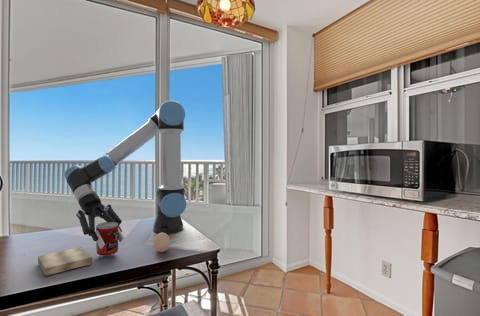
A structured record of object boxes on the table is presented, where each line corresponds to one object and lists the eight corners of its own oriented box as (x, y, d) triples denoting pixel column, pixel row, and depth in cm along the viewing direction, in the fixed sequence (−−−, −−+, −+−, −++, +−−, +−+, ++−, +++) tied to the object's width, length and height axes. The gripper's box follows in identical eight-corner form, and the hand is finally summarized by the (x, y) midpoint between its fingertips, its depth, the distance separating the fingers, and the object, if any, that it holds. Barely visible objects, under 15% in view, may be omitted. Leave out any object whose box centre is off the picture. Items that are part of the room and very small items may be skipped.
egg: (172, 248, 117) (172, 230, 117) (167, 254, 110) (167, 235, 110) (156, 248, 117) (156, 230, 117) (151, 254, 111) (151, 235, 110)
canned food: (110, 256, 104) (109, 227, 103) (91, 255, 105) (91, 226, 105) (122, 249, 111) (122, 222, 111) (105, 247, 113) (104, 221, 112)
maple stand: (81, 254, 110) (81, 246, 110) (92, 265, 100) (92, 257, 100) (38, 264, 100) (37, 256, 100) (45, 277, 90) (45, 268, 90)
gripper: (106, 199, 124) (130, 241, 117) (57, 208, 107) (82, 257, 99) (113, 188, 121) (139, 230, 114) (64, 196, 104) (90, 246, 96)
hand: (112, 243), depth 106 cm, fingers closed on canned food, 8 cm apart
